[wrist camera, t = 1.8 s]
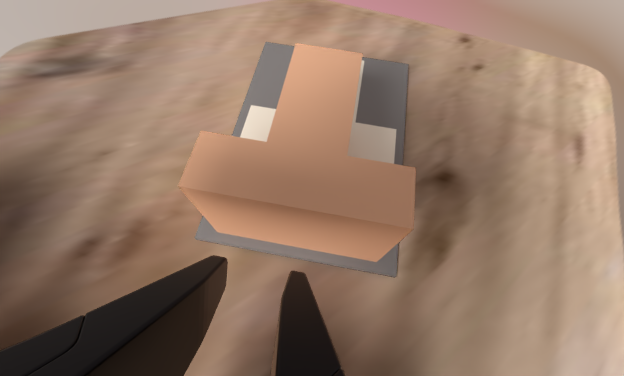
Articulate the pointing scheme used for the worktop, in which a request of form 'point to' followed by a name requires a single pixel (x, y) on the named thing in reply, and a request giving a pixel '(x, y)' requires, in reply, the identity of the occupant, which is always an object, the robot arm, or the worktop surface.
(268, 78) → the mat
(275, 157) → the t block
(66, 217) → the worktop surface
